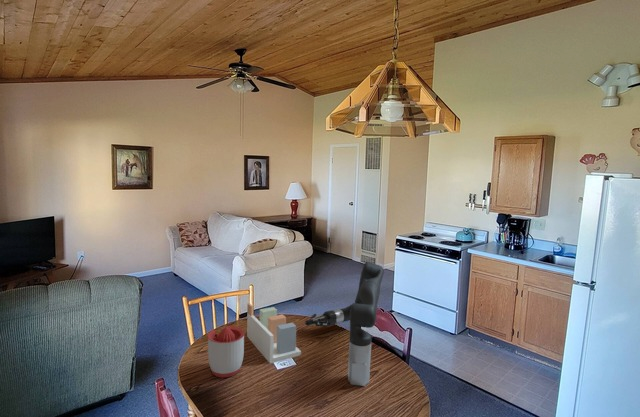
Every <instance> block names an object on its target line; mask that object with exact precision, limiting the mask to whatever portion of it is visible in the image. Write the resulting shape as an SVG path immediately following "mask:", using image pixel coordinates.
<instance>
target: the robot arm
mask: <svg viewBox="0 0 640 417" xmlns="http://www.w3.org/2000/svg"><path fill="white" fill-rule="evenodd" d="M384 271H385V269H384V267H383V266H381V265H379V264H375V263H374V262H373V263H372V262H370V261H366V262H365V263H364V264H363V266H362V270H361V272H360V278H359V284H358V290H357V293H356V296H355V300H354V302H353V303H352V304H350V305H348V306H347V307H344V308H340V309H331V310H327V311H324V312H323V313H322V314H318V315H317V314H316V313H313V314H312V315H311V317H310V319H307V320H305V321H304V324H305V325H306V326H311V325H313V326H314V325H315V327H325V328H326V327H328V326H329V327H330V326H333V325H337V324H341V323H344V322H348V321H349V345H348V360H347V362H348V364H347V365H348V366H347V367H348V368H347V381H348V382H349V383H350V385H351V386H358V387H359V386H361V387H366V386H367V384H369V382H370V376H371V375H370V374H371V373H370V372H371V371H370V370H371V358H372V356H371V355H372V340H373V339H372V335H371V333H370V332H368V331H366V330H365V329H363V328H367V329H370V328H374V327H375V325H376V322H377V314H378V313H377V312H378V311H377V310H378V302H379V298H380V292H381V284H382V281H383V277H384V274H385V272H384Z"/></svg>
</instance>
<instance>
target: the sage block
mask: <svg viewBox="0 0 640 417" xmlns="http://www.w3.org/2000/svg"><path fill="white" fill-rule="evenodd" d="M277 315H278V309H277V308H276V307H274V306H272V307H265V308H260V309H259V319H258V320H259V321H260V322H261V323H262V324H263V325H264V326H265V327H266V328H267V329H268V317H271V316H277Z"/></svg>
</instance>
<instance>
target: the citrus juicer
mask: <svg viewBox="0 0 640 417" xmlns="http://www.w3.org/2000/svg"><path fill="white" fill-rule="evenodd" d="M245 334H246V332H245V331H244V329H242V328H241V327H239V326H232V325H228V326H226V325H225V326H224V328H223V329H222V330H221V331H220V332H219V333H216V330H214V329H211V330H210V331H209V332H208V333H207V358H208V365H209V368H210V370H211V372H212V374H213V375H214V376H216V377H218V378H220V379H221V378H230V377H233V376H235V375H237V374H238V373H239V372H240V370H241V368H242V364H243V360H244V353H245Z"/></svg>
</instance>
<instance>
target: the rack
mask: <svg viewBox="0 0 640 417" xmlns="http://www.w3.org/2000/svg"><path fill="white" fill-rule="evenodd" d="M253 306H254V305H252V304H251V303H249V302H247V312H246V313H247V316H246V320H247V321H246V324H247V325H246V328H247V329H246V330H247V332H246V337H247V338H248V339H249V341H250V342H251V343H252V344H253V345H254V346H255V347H256V348H257V350H258V351H259V352H260V354H261V355H262V356H263V357H264V358H265V359H266V361H267V362H268V363H269V364H274V363H276V362H281V361H284V360H288V359H292V358H297V357H300V356H302V350H300V349H299V347H297V346H296V350H294V351H290V352H286V353H282V354H280V353H279V352H278V351H277V343H274V335H273V334H272V333H271V332H270V331H269V330H268V329H267V328H266V327H265V326H264V325H263V324H262V323H261V322H260V321H259V319H258V318H257V317H256V316H255V315H254V312H253V311H254V307H253Z"/></svg>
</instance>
